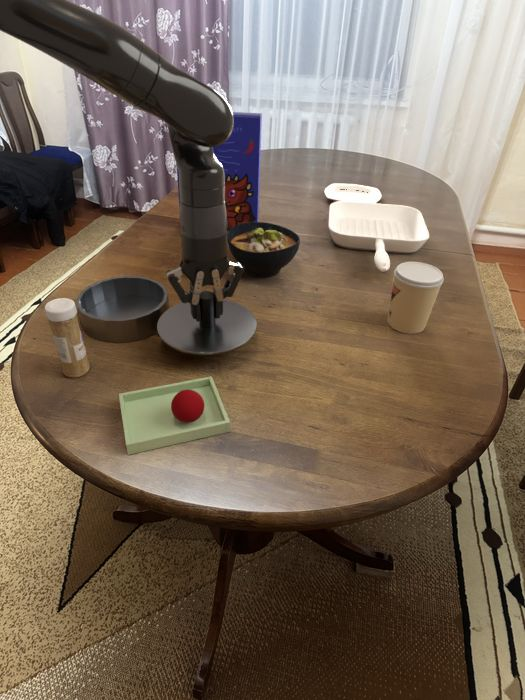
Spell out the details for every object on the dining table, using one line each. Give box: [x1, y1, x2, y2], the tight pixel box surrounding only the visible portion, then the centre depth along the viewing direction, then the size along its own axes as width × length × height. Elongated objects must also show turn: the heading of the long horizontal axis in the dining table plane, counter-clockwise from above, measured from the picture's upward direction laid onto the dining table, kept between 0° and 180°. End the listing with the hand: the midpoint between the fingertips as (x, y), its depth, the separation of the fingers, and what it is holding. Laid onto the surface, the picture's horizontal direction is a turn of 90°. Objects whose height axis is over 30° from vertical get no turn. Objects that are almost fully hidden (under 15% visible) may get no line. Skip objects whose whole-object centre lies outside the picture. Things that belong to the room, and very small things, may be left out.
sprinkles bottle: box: [44, 297, 91, 378], centre depth 77 cm, size 5×5×13 cm
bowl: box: [227, 221, 301, 278], centre depth 111 cm, size 17×17×10 cm
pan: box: [327, 201, 430, 273], centre depth 126 cm, size 27×44×5 cm, turn 172°
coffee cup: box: [387, 261, 445, 335], centre depth 94 cm, size 9×9×12 cm
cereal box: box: [175, 111, 263, 232], centre depth 126 cm, size 22×6×30 cm, turn 87°
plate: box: [324, 182, 383, 203], centre depth 159 cm, size 19×19×2 cm
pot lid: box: [157, 290, 258, 356], centre depth 85 cm, size 18×18×7 cm
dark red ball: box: [171, 390, 204, 423], centre depth 71 cm, size 5×5×5 cm
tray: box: [118, 375, 231, 456], centre depth 72 cm, size 15×11×2 cm
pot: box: [75, 275, 170, 344], centre depth 94 cm, size 17×17×5 cm
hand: (207, 317), depth 86 cm, fingers closed on pot lid, 3 cm apart
